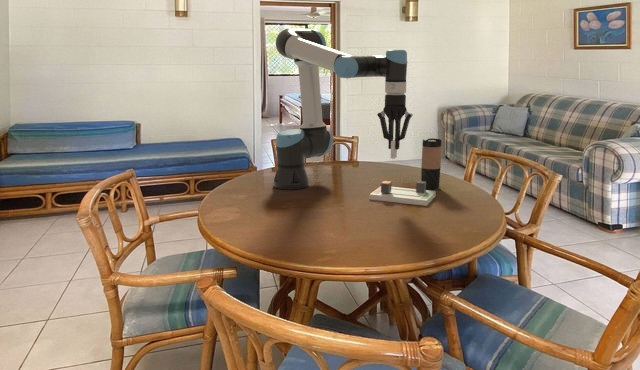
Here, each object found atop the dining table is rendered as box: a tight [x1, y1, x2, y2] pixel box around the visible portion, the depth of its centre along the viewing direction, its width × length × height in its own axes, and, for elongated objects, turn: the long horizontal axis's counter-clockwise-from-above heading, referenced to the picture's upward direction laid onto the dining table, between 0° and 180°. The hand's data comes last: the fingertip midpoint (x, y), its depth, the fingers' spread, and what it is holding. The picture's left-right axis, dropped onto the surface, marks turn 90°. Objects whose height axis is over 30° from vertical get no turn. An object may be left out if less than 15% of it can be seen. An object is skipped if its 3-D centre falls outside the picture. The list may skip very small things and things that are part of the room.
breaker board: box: [369, 180, 437, 207], centre depth 187 cm, size 22×14×6 cm, turn 64°
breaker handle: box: [380, 180, 392, 194], centre depth 186 cm, size 3×4×4 cm
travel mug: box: [420, 137, 442, 191], centre depth 199 cm, size 8×8×20 cm
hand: (393, 157), depth 182 cm, fingers closed
